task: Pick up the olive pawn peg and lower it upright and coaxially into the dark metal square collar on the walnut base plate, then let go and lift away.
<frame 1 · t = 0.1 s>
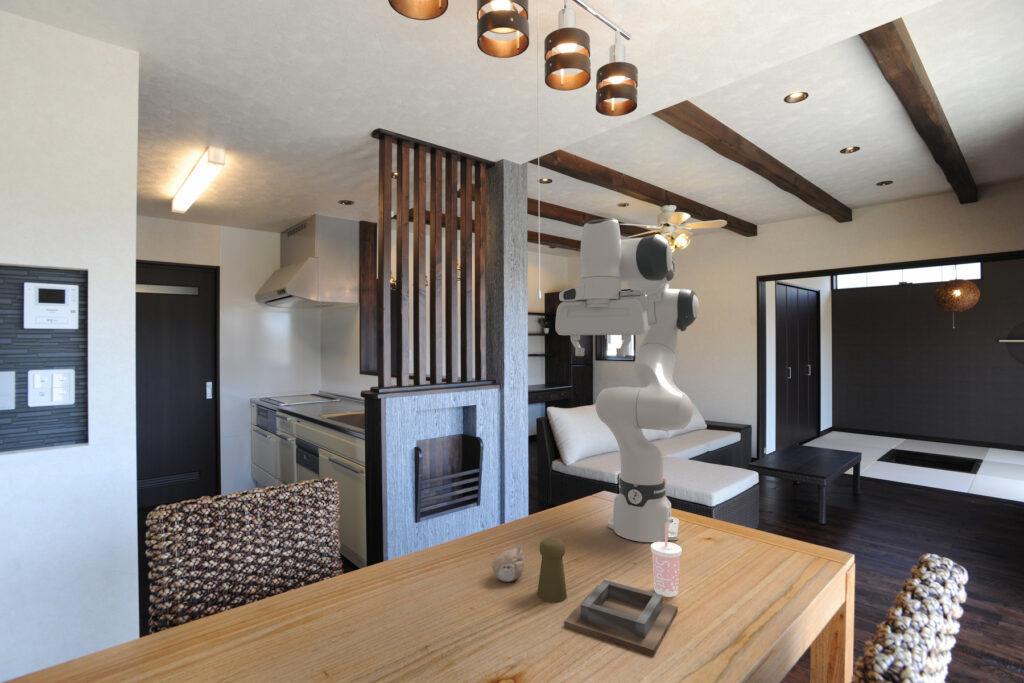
hand: (600, 356, 109), 48 cm above the table, tool pointing down, fingers open, 8 cm apart
olive pawn peg: (551, 596, 101), on the table
beverage cup: (665, 592, 103), on the table
socket base: (622, 619, 92), on the table
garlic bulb: (508, 580, 107), on the table
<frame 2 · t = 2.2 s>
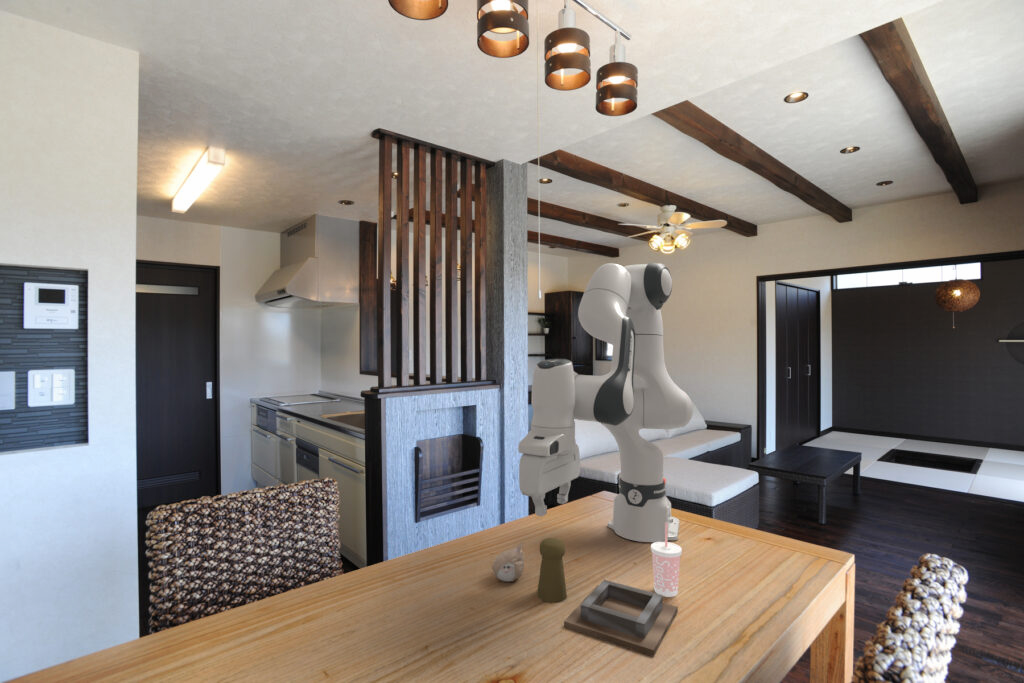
hand: (552, 508, 101), 17 cm above the table, tool pointing down, fingers open, 8 cm apart
nothing on the table moved.
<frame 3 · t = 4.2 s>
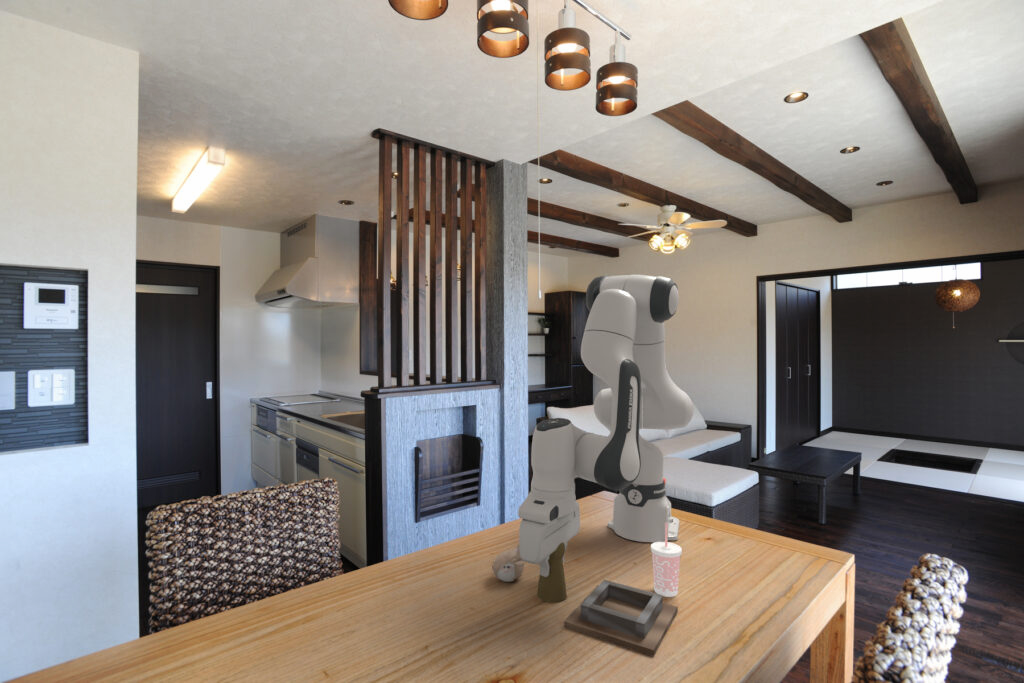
hand: (552, 569, 101), 5 cm above the table, tool pointing down, fingers closed on olive pawn peg, 4 cm apart
olive pawn peg: (551, 595, 101), on the table, touching gripper
everything else where it was.
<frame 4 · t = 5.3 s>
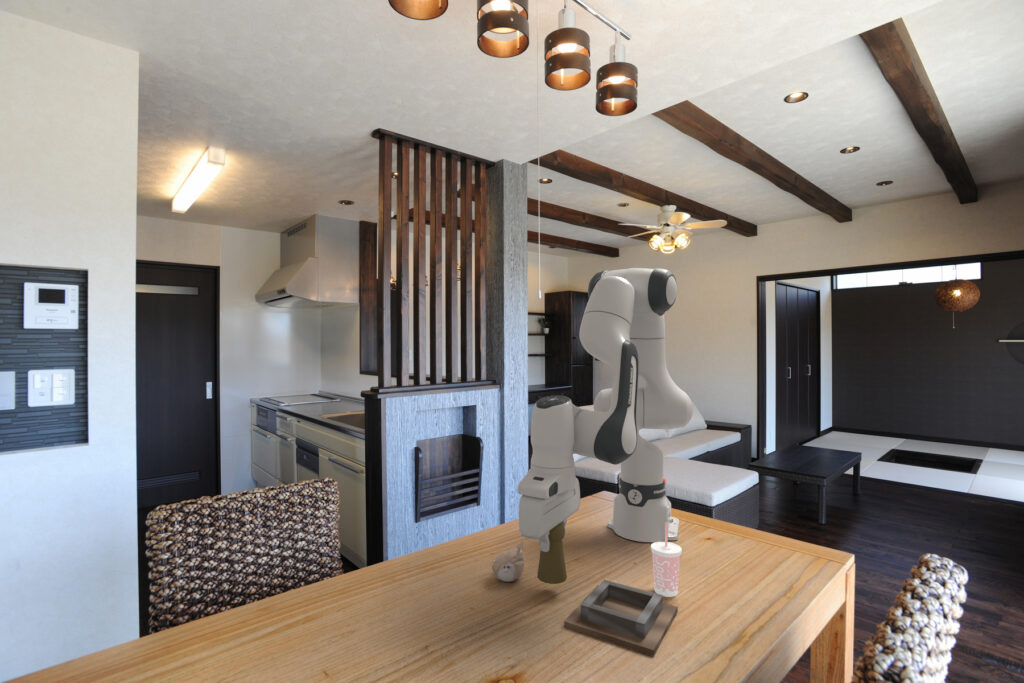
hand: (552, 545, 101), 10 cm above the table, tool pointing down, fingers closed on olive pawn peg, 4 cm apart
olive pawn peg: (552, 577, 102), point 3 cm above the table, touching gripper
everything else where it was.
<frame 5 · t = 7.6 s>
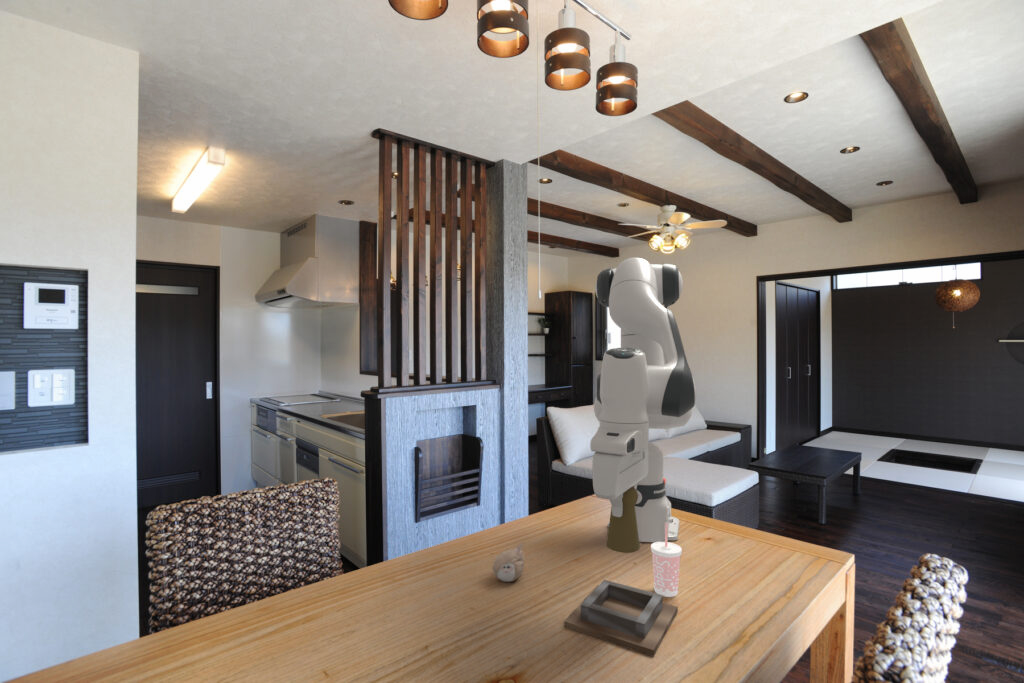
hand: (623, 511, 92), 20 cm above the table, tool pointing down, fingers closed on olive pawn peg, 4 cm apart
olive pawn peg: (623, 547, 92), point 13 cm above the table, touching gripper
everything else where it was.
when the fingers open (7 cm above the table, at t = 9.7 s): olive pawn peg stays where it is, resting on socket base.
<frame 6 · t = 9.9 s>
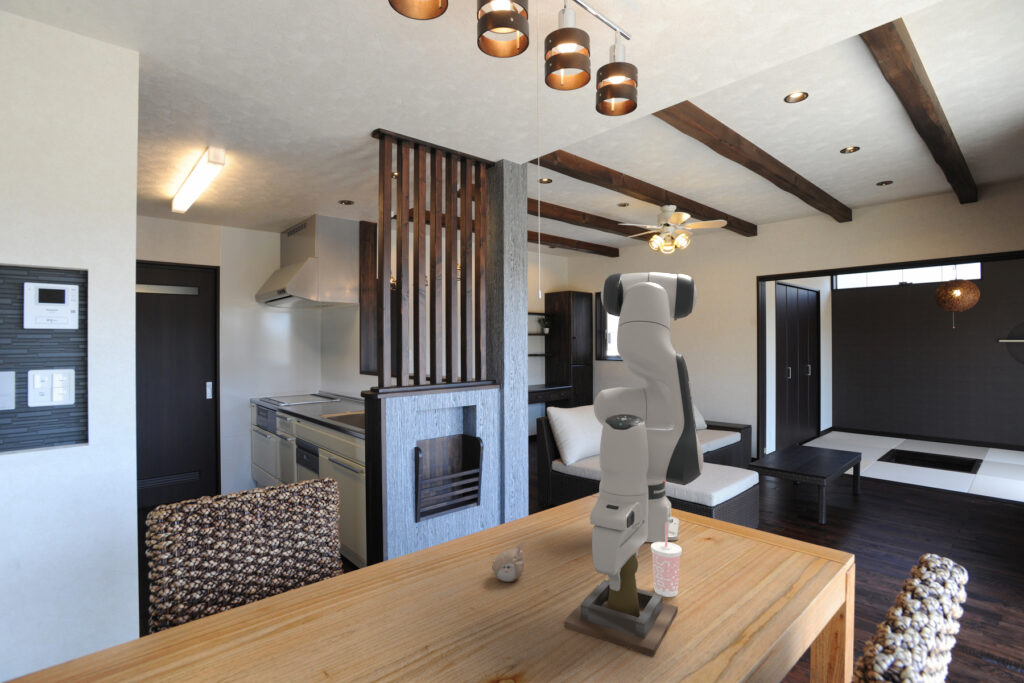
hand: (622, 580, 92), 7 cm above the table, tool pointing down, fingers open, 6 cm apart
olive pawn peg: (623, 614, 92), point 1 cm above the table, touching socket base
everything else where it was.
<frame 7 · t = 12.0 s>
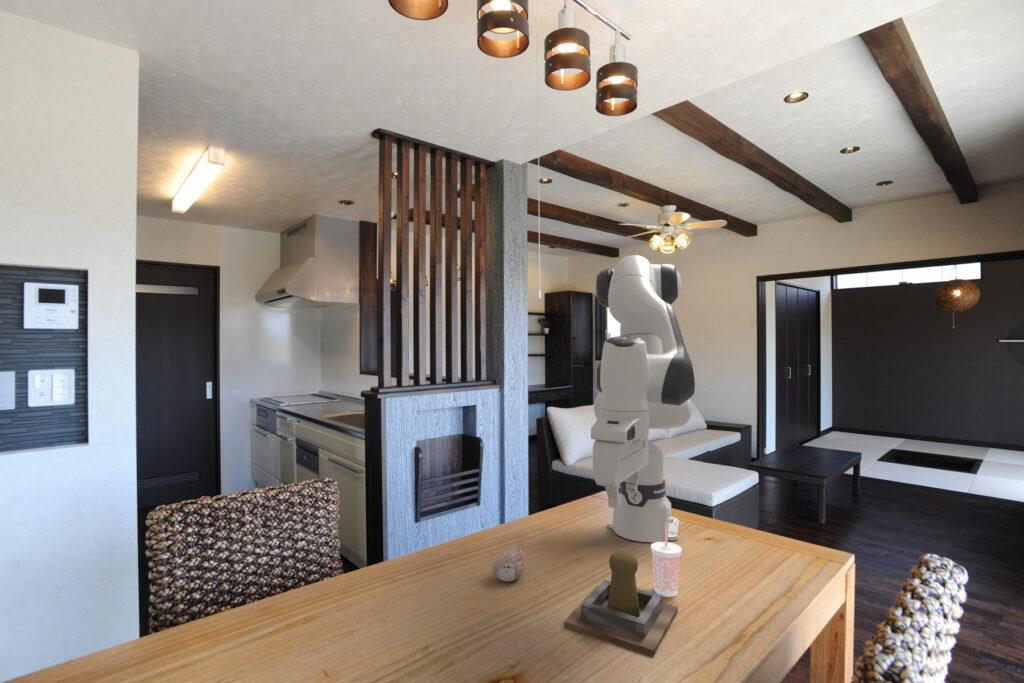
hand: (623, 499, 92), 22 cm above the table, tool pointing down, fingers open, 8 cm apart
nothing on the table moved.
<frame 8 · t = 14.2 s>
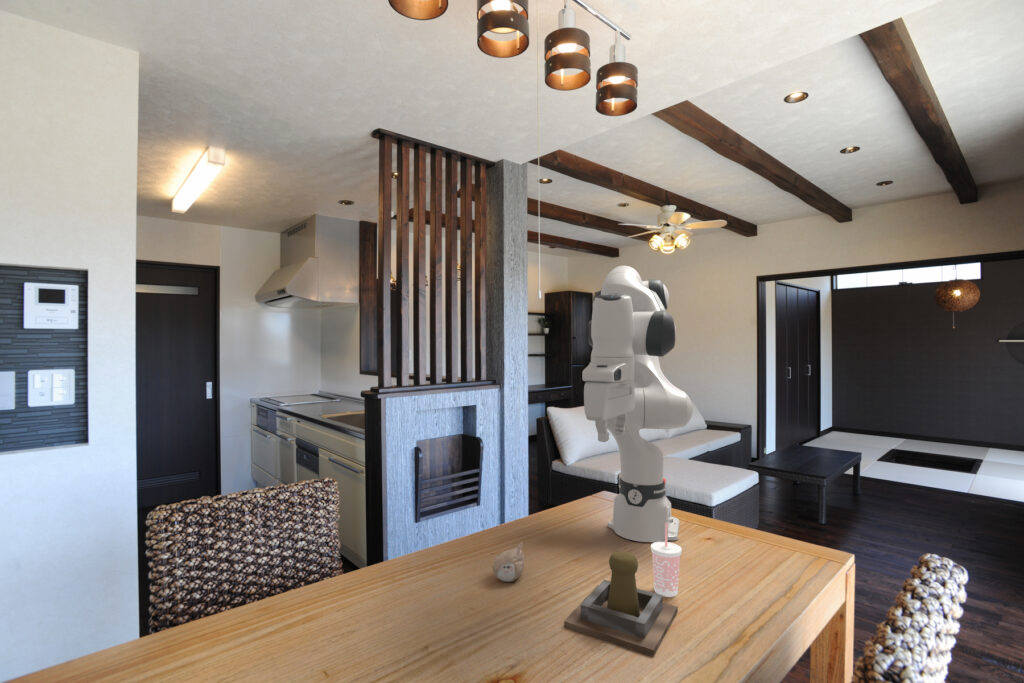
hand: (611, 437, 104), 31 cm above the table, tool pointing down, fingers open, 8 cm apart
nothing on the table moved.
at the end: olive pawn peg 0.1 cm off-centre on the socket base, point 0.8 cm above the socket base's base; olive pawn peg tilted 0°; the gripper is holding nothing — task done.
